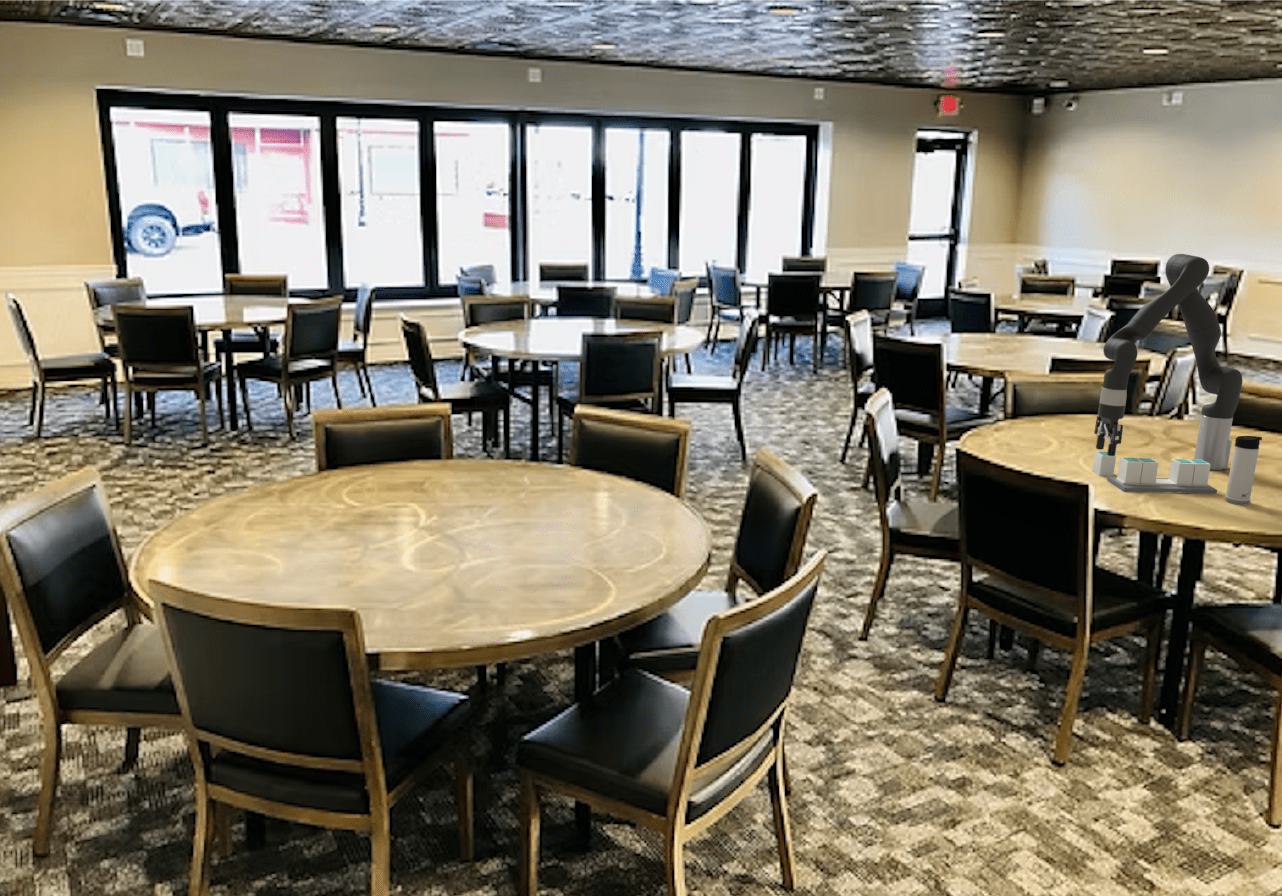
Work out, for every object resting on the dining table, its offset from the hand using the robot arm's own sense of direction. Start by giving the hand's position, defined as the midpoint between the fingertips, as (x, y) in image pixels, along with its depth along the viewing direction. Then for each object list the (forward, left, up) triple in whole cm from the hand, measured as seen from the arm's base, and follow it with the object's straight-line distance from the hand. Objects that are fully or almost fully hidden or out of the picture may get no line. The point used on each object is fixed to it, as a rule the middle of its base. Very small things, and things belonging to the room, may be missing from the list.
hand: (1105, 452), depth 335 cm
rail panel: (-12, +14, -7) cm, 20 cm away
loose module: (0, 0, -7) cm, 7 cm away
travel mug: (-28, +28, -7) cm, 40 cm away
